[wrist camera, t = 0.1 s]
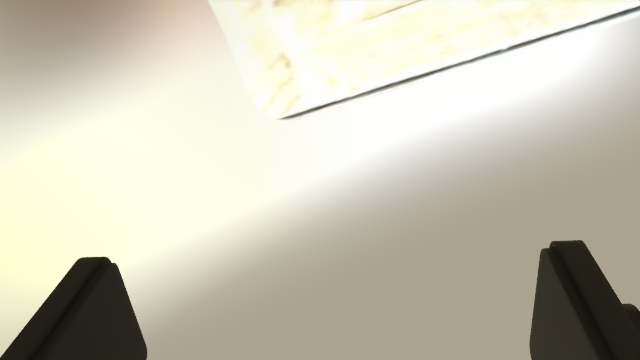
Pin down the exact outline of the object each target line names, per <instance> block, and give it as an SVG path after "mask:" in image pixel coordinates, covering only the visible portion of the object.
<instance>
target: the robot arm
mask: <svg viewBox="0 0 640 360" xmlns="http://www.w3.org/2000/svg"><path fill="white" fill-rule="evenodd" d="M530 353H531V358H532V360H640V311H639V310H638V309H637V308H636V307H635V306H634V305H632V304H622V303H621V302H620V300H619V299H618V297H617V295H616V294H615V292H614V291H613V289H612V287H611V286H610V284H609V282H608V281H607V279H606V277H605V276H604V274H603V273H602V271H601V269H600V268H599V266H598V264H597V263H596V261H595V260H594V258H593V256H592V255H591V253H590V251H589V250H588V248H587V247H586V245H585V244H584V243H583V241H581V240H577V241H576V240H574V241H553V242H551V244H550V247H549V248H546V249H542V250H541V253H540V261H539V269H538V278H537V285H536V294H535V302H534V310H533V319H532V327H531V335H530ZM146 358H147V348H146V344H145V342H144V339H143V336H142V333H141V330H140V327H139V324H138V322H137V319H136V316H135V313H134V310H133V308H132V305H131V302H130V299H129V296H128V294H127V291H126V288H125V286H124V282H123V279H122V277H121V274H120V271H119V268H118V266H117V265H116V264H115V263H111V261H110V260H109V259H108V258H107V257H86V258H80V259H78V260H77V261H76V262H75V264H74V265H73V266H72V268H71V269H70V270H69V271H68V273H67V274H66V275H65V277H64V278H63V279H62V280H61V282H60V283H59V284H58V285H57V287H56V288H55V289H54V290H53V292H52V293H51V294H50V295H49V297H48V298H47V299H46V300H45V302H44V303H43V304H42V306H41V307H40V308H39V310H38V311H37V312H36V313H35V314H34V316H33V317H32V318H31V319H30V321H29V322H28V323H27V325H26V326H25V327H24V328H23V330H22V331H21V332H20V333H19V335H18V336H17V337H16V338H15V340H14V341H13V342H12V344H11V345H10V346H9V347H8V349H7V350H6V351H5V352H4V354H3V355H2V356H1V358H0V360H146Z"/></svg>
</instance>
